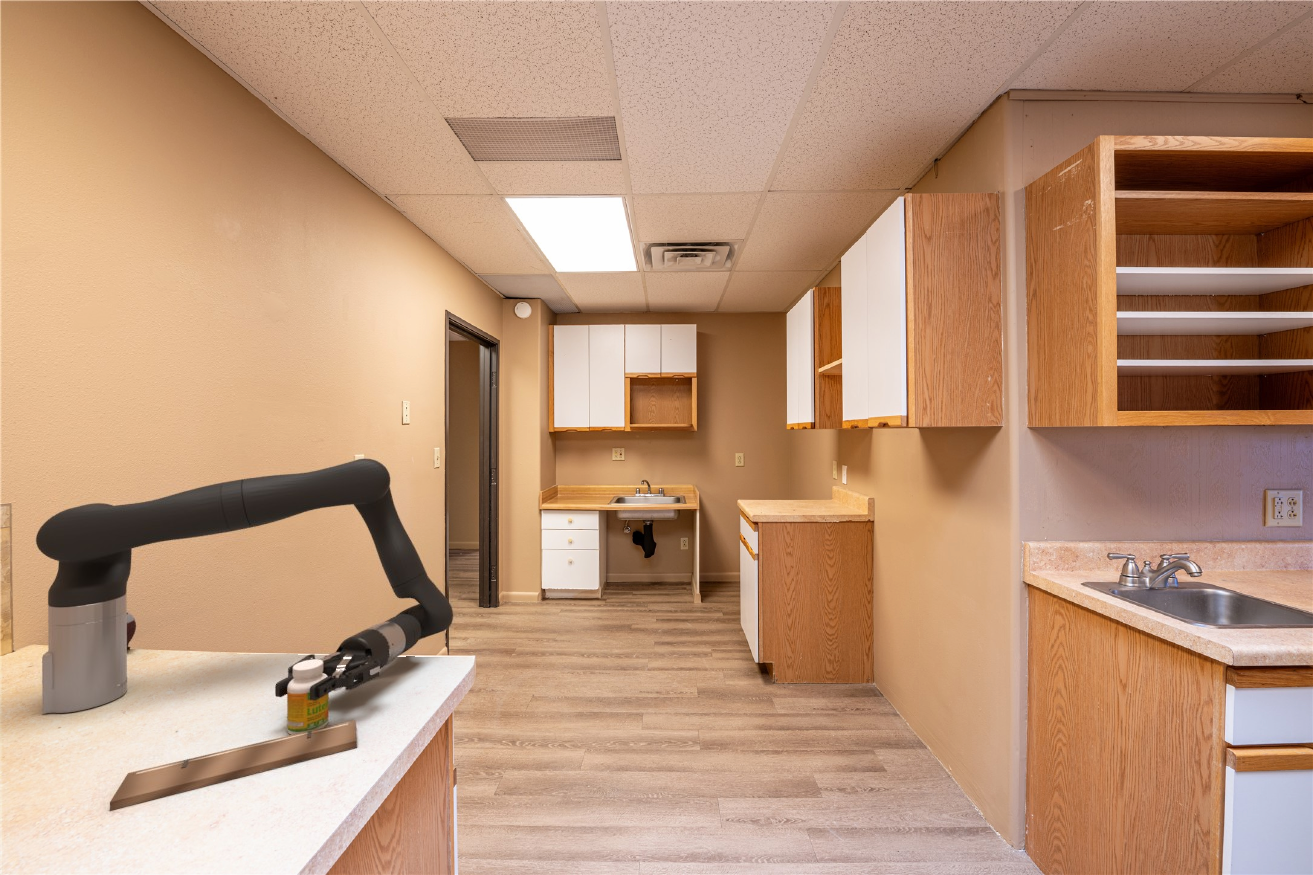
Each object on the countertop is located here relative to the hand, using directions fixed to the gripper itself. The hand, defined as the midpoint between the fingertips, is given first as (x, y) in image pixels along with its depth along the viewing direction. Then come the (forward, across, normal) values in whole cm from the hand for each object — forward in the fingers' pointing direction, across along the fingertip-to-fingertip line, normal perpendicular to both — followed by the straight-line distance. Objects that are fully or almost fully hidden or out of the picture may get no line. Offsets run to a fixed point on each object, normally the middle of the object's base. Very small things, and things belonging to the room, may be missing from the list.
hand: (294, 692), depth 81 cm
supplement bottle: (-3, 0, +7) cm, 7 cm away
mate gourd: (-19, -62, +7) cm, 66 cm away
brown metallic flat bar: (+7, -1, +7) cm, 10 cm away
